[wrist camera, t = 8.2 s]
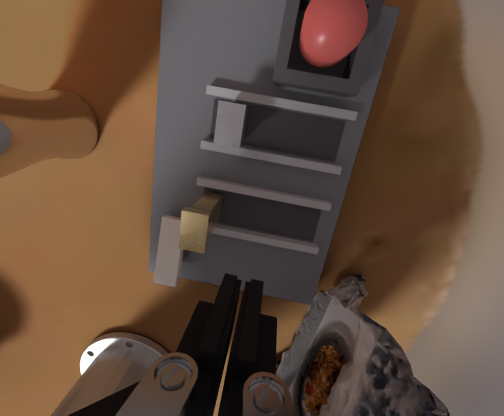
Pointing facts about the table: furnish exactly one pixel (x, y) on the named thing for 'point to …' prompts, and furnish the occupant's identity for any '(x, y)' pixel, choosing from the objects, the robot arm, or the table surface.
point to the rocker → (168, 252)
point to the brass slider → (200, 222)
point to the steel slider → (230, 124)
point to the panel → (260, 136)
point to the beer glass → (43, 127)
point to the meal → (350, 363)
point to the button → (331, 30)
